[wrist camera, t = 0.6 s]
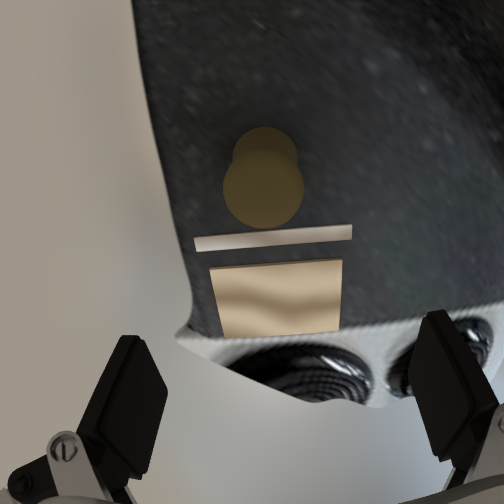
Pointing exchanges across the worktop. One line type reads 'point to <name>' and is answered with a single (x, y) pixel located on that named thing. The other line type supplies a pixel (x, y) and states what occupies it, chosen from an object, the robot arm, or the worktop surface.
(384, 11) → the worktop surface
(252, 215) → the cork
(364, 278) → the worktop surface
